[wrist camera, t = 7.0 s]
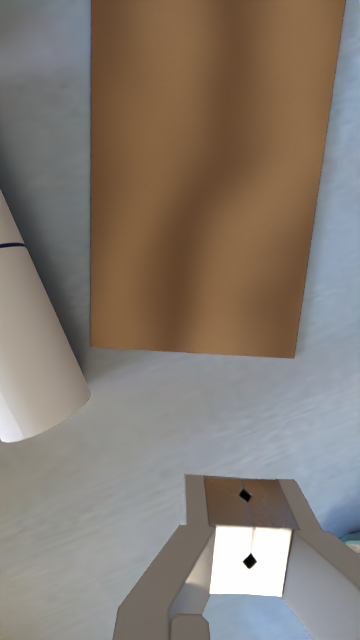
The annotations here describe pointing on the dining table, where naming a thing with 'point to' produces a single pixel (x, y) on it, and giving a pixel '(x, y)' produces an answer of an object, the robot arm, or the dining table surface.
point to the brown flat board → (206, 169)
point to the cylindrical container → (31, 347)
